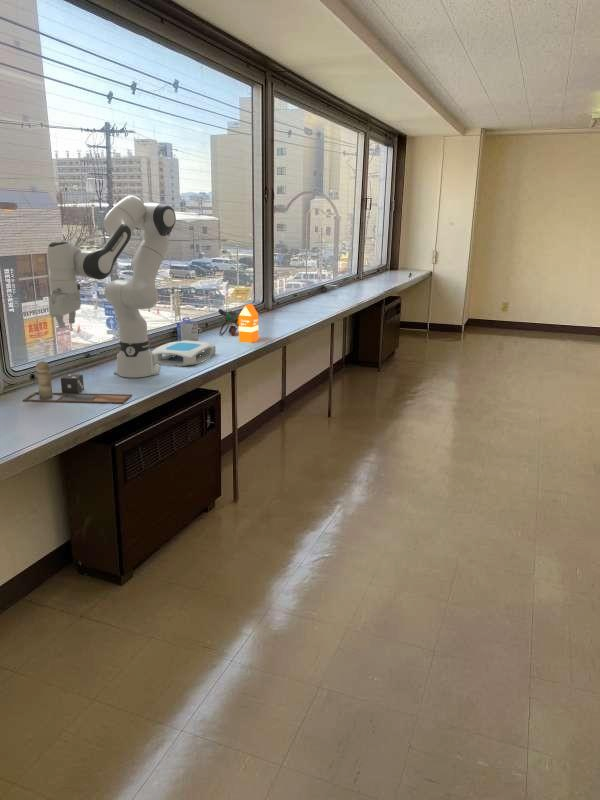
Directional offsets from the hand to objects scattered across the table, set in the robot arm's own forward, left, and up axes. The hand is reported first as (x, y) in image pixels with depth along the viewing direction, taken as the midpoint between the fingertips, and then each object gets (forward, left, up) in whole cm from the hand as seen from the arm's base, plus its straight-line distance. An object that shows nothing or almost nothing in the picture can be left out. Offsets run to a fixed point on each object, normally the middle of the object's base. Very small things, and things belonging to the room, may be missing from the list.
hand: (67, 325), depth 218 cm
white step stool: (-58, +30, -26) cm, 70 cm away
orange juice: (-103, +56, -25) cm, 120 cm away
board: (+9, +5, -25) cm, 27 cm away
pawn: (+9, -6, -25) cm, 28 cm away
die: (0, 0, -25) cm, 25 cm away
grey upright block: (-88, +26, -25) cm, 95 cm away
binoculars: (-120, +44, -25) cm, 130 cm away
